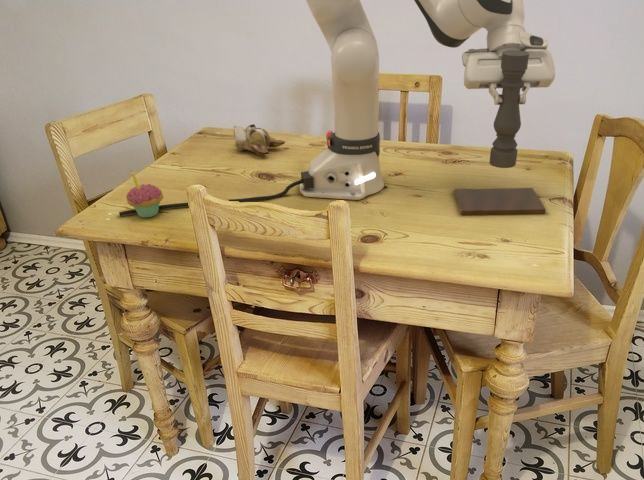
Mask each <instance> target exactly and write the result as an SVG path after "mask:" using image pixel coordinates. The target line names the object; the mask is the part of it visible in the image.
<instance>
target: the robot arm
mask: <svg viewBox="0 0 644 480" xmlns="http://www.w3.org/2000/svg"><path fill="white" fill-rule="evenodd" d="M305 1H306V3H307V6H308V8H309V11H310V13H311V14H312V17H313V18H314V20H315V22H316V24H317V26H318V27H319V29H320V31H321V33H322V35H323V38H324V39H325V41H326V43H327V45H328V47H329V50H330V52H331V54H330V64H331V66H330V67H331V68H330V69H331V79H332V80H331V82H332V83H331V84H332V85H331V86H332V98H333V120H334V122H333V123H334V132H333V130H327V132H326V133H325V138H326V145H327V146H326V149H325V150H323V151H321V152H320V153H319V154H318V155H317V156H315V157H314V158H312V160H311V162H310V163H309V166H308V168H307V170H306V171H301V172H300V179H299V180H297V181H294V182H292V183H290V184H288V185H287V186H286V187H285V188H284V190H283V191H281V192H279V193H276V194H272V195H263V196H253V197H244V198H243V197H242V198H233V199H232V198H231V199H228V200H229V201H239V202H240V203H248V202H257V201H268V200H273V199H279V198H281V197H283V196H286V195H287V194H288V192H289V191H290V190H291V189H292V188H294V187H297V186H298V185H299V193H301V195H302V196H304V197H307V198H322V199H338V200H351V201H359V200H363V199H364V198H366V197H367V196H370V195H373V194H376V193H378V192H380V191H382V190H383V189H384V187H385V181H384V178H383V175H382V170H381V164H380V163H381V162H380V154H381V136H380V135H381V134H380V131H379V91H380V90H379V89H380V88H379V87H380V82H379V81H380V78H379V77H380V53H379V48H378V42H377V38H376V36H375V33H374V31H373V29H372V27H371V24H370V22H369V19H368V17H367V15H366V11H365V9H364V7H363V4H362V2H361V0H305ZM413 1H414V3H415V4H416V6H417V7H418V9H419V11H420V12H421V14H422V15H423V17H424V18H425V21H426V22H427V26H428V28H429V29H430V32H431V34H432V36H433V38H434V39H435V41H436V42H437V43H439V44H440V45H442V46H444V47H447V48H452V49H453V48H455V49H456V48H459V47H460V46H461V45H462V44H464V43H465V42H466V41H467V40H469V39H470V37H471V36H473V35H474V34H475V33H477V32H478V31H479V30H481V29H485V30H486V32H487V34H486V48H476V49H475V48H469V49H468V50H466V51H464V52H463V53H462V55H461V63H462V66H463V67H464V73H463V86H464V87H465V88H466V89H467V90H487V89H488V93H489V95H490V96H491V98H492V99H493V100H494V101H493V102H494V103H493V105H495V106H500V105H501V103H502V101H503V99H502V93H501V94H500V93H499V92H498V91H497V90H496V89H503V88H502V86H501V85H500V82H501V80H503V79H504V77H503V73H502V69H501V61H502V53H503V52H504V51H510V50H518V51H526V52H528V53H529V59H528V66H527V69H526V70H525V71H526V72H525V74H524V75H523V77H522V80H523V81H524V85H523V86H522V87H521V92H523V93H520V95H519V105H525V104H526V102H527V94H528V92H529V90H530V89H532V88H538V89H539V88H549V87H550V86H551V85H552V84H553V82H554V81H555V77H556V67H555V63H554V59H553V55H552V52H550V50H548V46H549V40H548V38H546V37H542V36H538V35H535V34H532V33H529V32H527V31H526V28H525V25H524V22H525V7H524V6H525V5H524V1H523V0H413ZM184 207H189V206H188V202H179V203H178V202H177V203H170V204H161V205H160V204H159V210H166V209H174V208H175V209H176V208H184ZM118 214H119V217H122V216H128V215H133V214H138V213H137V211H136V210H135V208H133V209H129V210H122V211H119V212H118Z"/></svg>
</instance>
